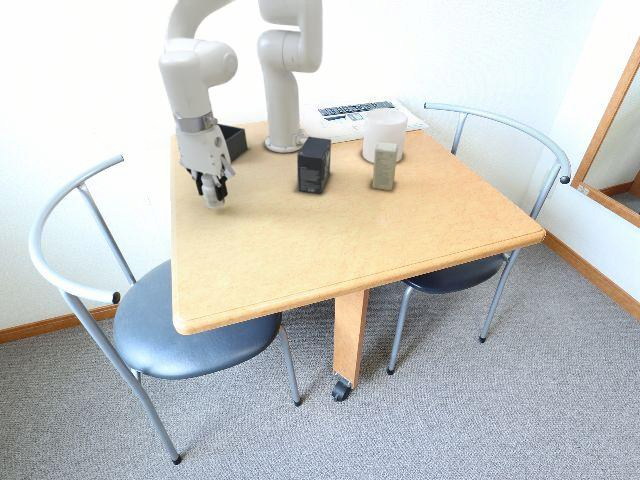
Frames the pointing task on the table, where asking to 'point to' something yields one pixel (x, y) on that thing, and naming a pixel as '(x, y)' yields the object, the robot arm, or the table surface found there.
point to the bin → (234, 140)
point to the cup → (384, 130)
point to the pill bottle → (210, 192)
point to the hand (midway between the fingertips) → (213, 194)
